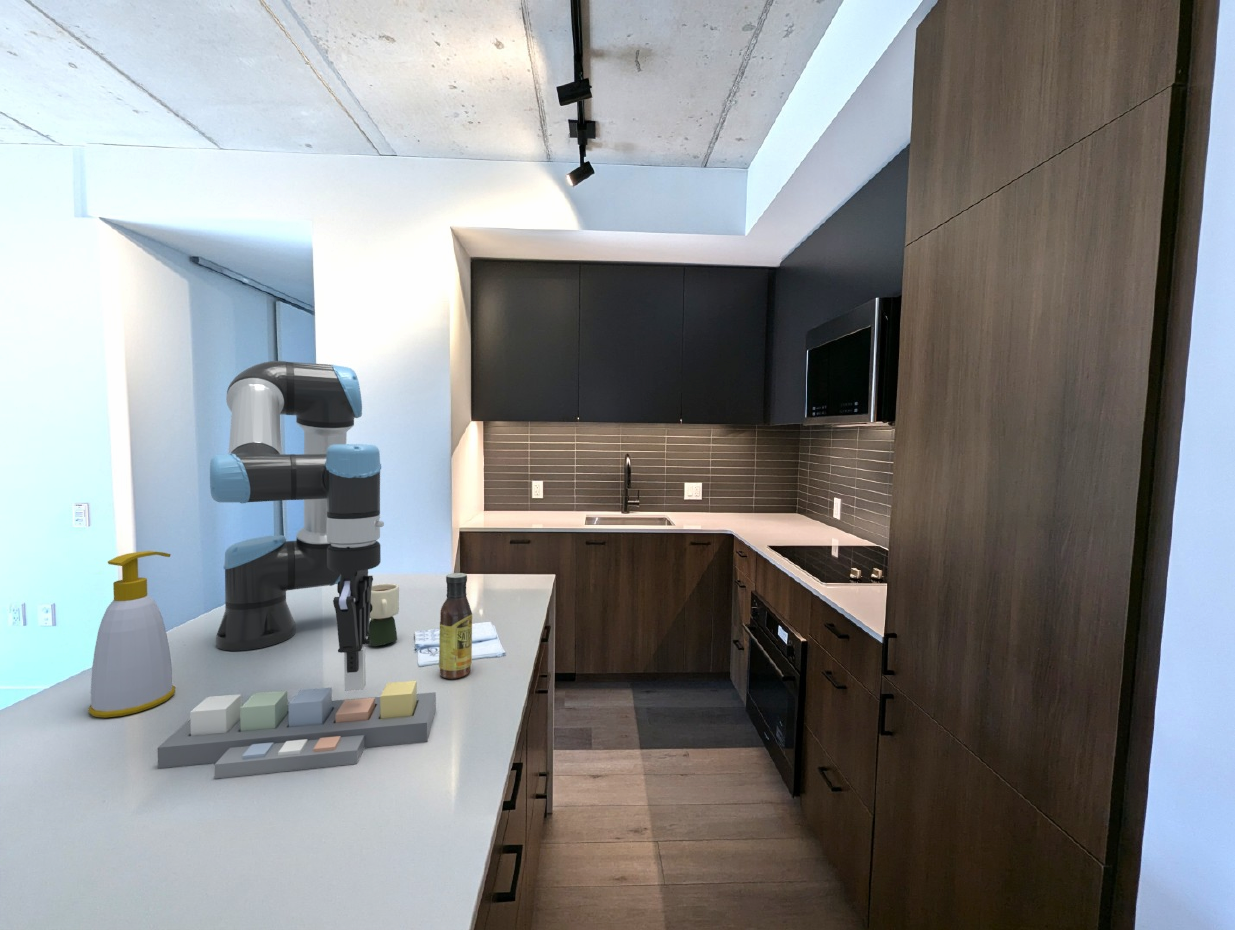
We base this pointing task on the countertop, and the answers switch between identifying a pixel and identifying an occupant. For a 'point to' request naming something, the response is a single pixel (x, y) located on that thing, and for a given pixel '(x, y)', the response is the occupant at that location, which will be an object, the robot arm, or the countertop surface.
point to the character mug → (383, 614)
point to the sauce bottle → (455, 629)
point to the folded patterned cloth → (482, 644)
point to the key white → (215, 715)
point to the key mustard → (399, 699)
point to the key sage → (264, 711)
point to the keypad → (296, 742)
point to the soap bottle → (130, 648)
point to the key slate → (310, 707)
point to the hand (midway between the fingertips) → (355, 687)
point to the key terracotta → (355, 710)
